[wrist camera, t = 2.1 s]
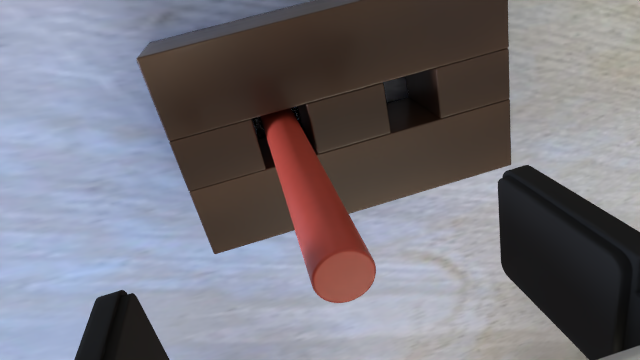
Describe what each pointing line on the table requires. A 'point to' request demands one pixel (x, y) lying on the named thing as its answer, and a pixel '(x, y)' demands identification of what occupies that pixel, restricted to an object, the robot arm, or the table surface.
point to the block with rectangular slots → (333, 103)
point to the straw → (318, 214)
